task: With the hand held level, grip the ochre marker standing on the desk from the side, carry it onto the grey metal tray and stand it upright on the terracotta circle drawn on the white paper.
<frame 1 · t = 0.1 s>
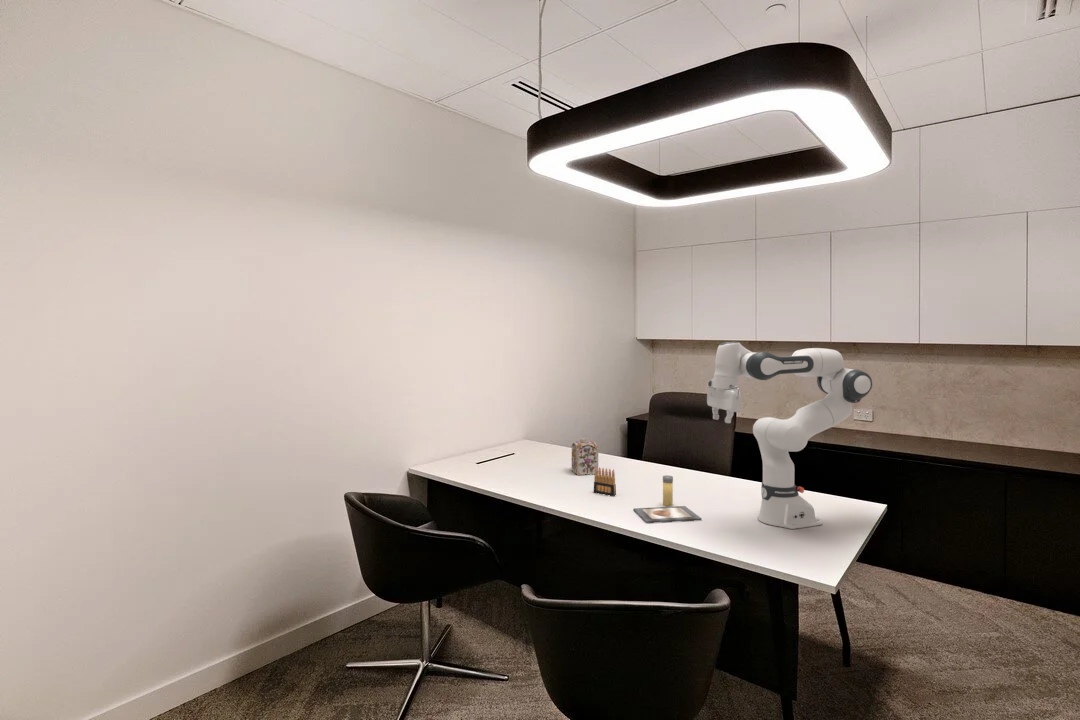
hand: (721, 421, 206), 39 cm above the table, tool pointing down, fingers open, 8 cm apart
ammunition clip: (604, 494, 248), on the table
grey metal tray: (666, 515, 218), on the table
marker: (667, 504, 231), on the table
decorative jar: (584, 473, 289), on the table
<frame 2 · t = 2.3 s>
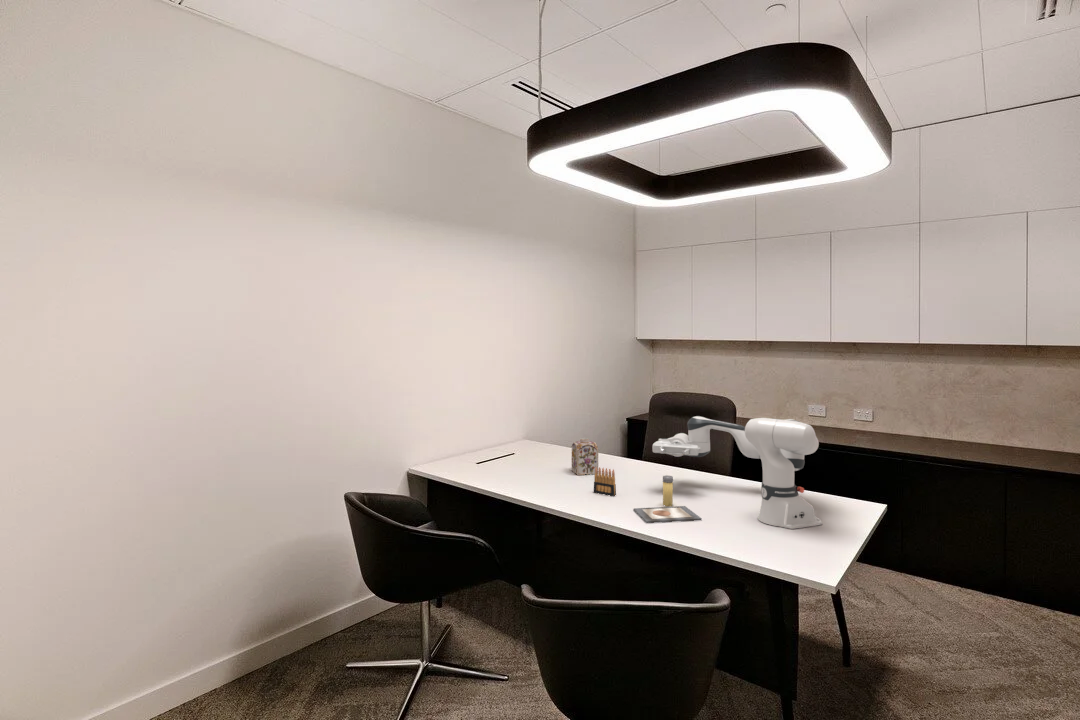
hand: (672, 452, 240), 20 cm above the table, tool horizontal, fingers open, 8 cm apart
nothing on the table moved.
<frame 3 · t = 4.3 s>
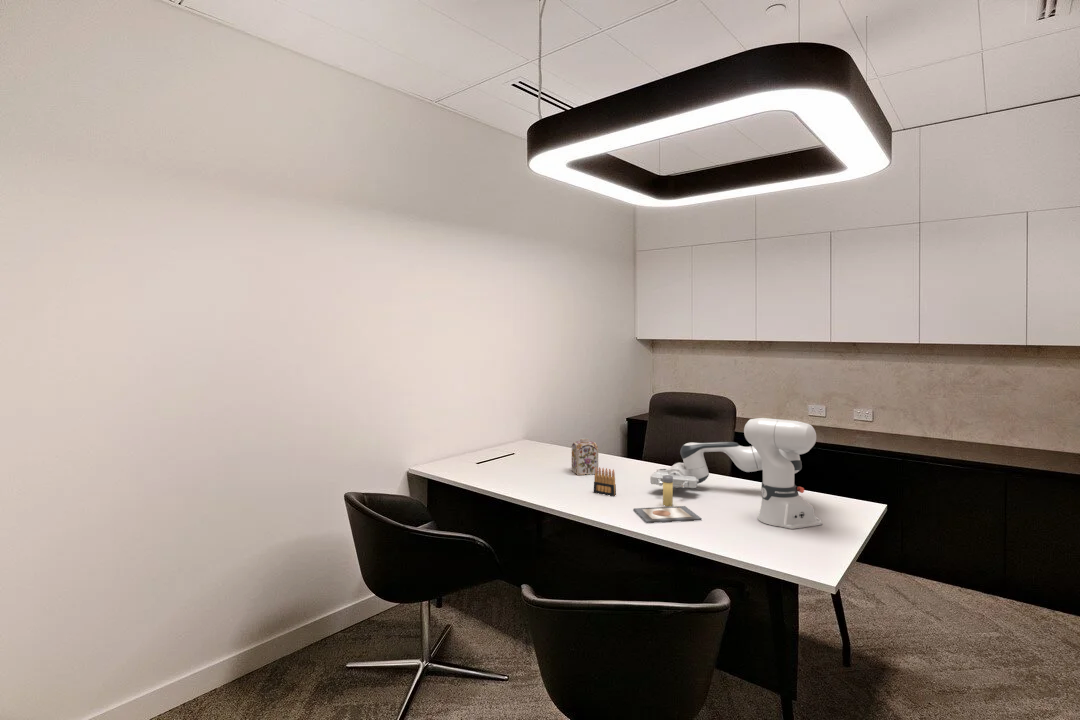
hand: (671, 485, 239), 6 cm above the table, tool horizontal, fingers open, 8 cm apart
nothing on the table moved.
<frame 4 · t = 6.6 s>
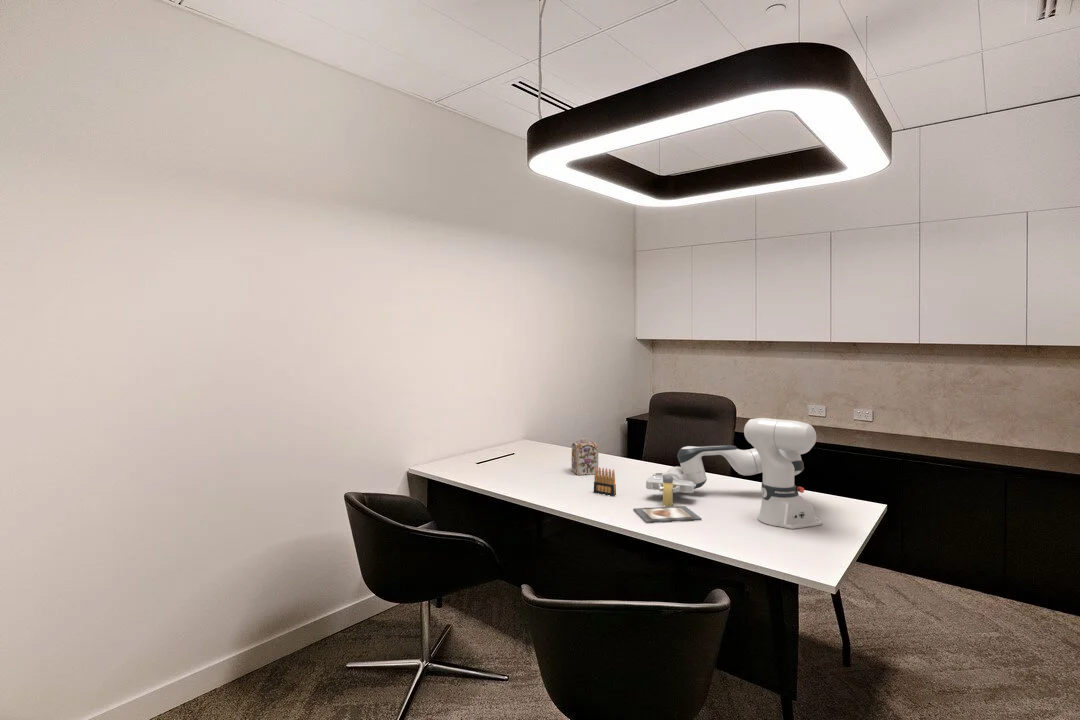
hand: (667, 490, 230), 7 cm above the table, tool horizontal, fingers closed on marker, 4 cm apart
marker: (667, 504, 231), on the table, touching gripper
everything else where it was.
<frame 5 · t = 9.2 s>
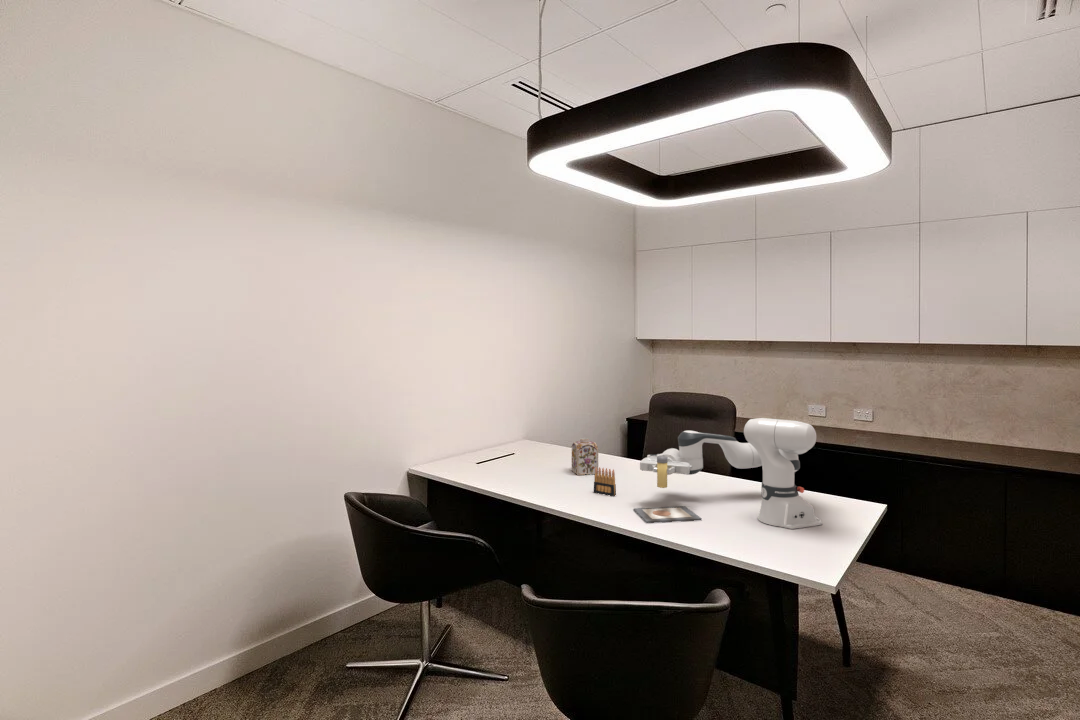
hand: (661, 471, 221), 17 cm above the table, tool horizontal, fingers closed on marker, 4 cm apart
marker: (662, 486, 222), point 10 cm above the table, touching gripper
everything else where it was.
when the fingers open (8 cm above the table, at t = 12.2 s): marker stays where it is, resting on grey metal tray.
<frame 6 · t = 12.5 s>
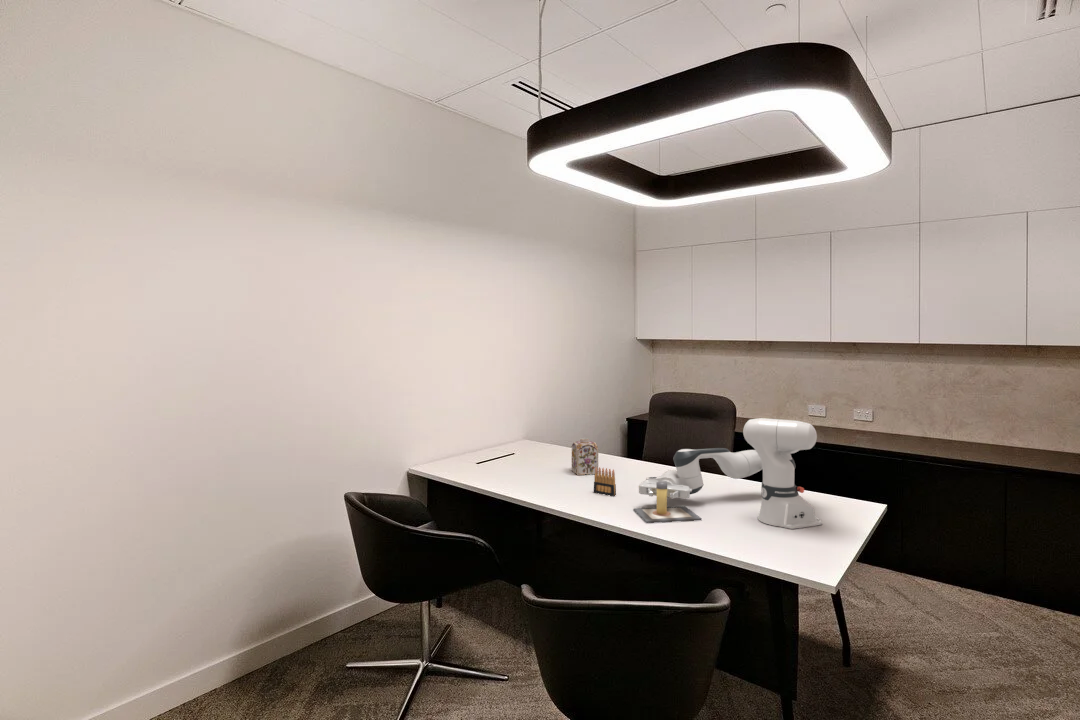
hand: (661, 495, 216), 8 cm above the table, tool horizontal, fingers open, 7 cm apart
marker: (661, 512, 217), point 1 cm above the table, touching grey metal tray
everything else where it was.
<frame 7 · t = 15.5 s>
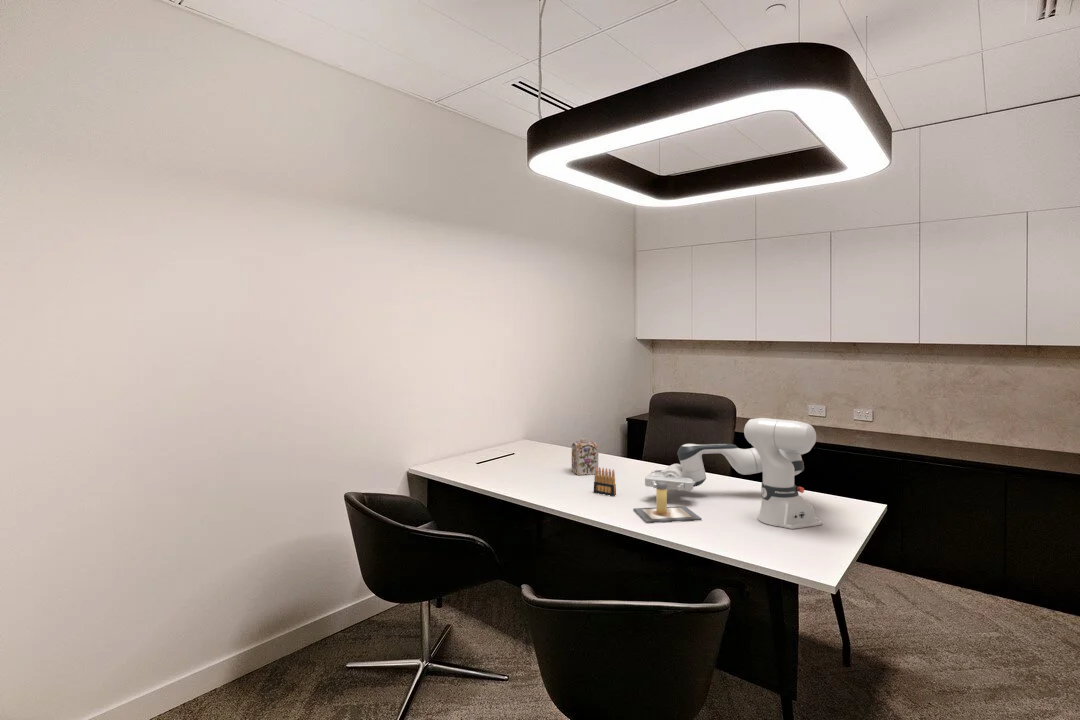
hand: (666, 487, 228), 8 cm above the table, tool horizontal, fingers open, 8 cm apart
nothing on the table moved.
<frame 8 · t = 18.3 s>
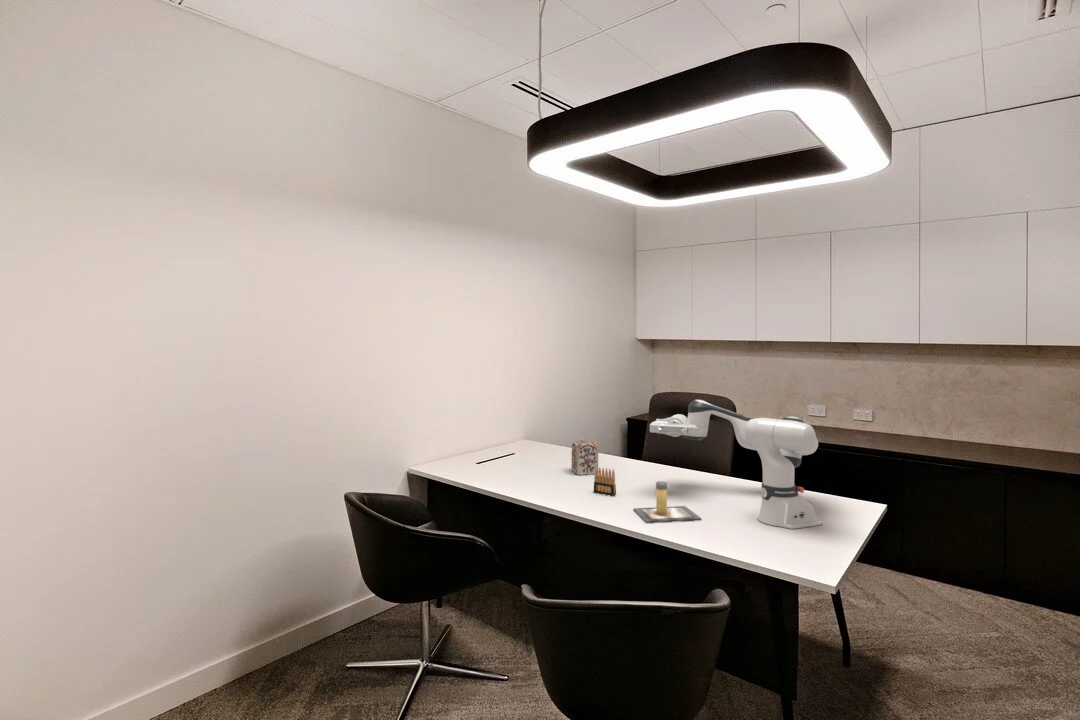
hand: (670, 431, 237), 30 cm above the table, tool horizontal, fingers open, 8 cm apart
nothing on the table moved.
at the end: marker 0.0 cm from the target spot on the grey metal tray, point 1.0 cm above the grey metal tray's base; marker tilted 0°; the gripper is holding nothing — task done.
